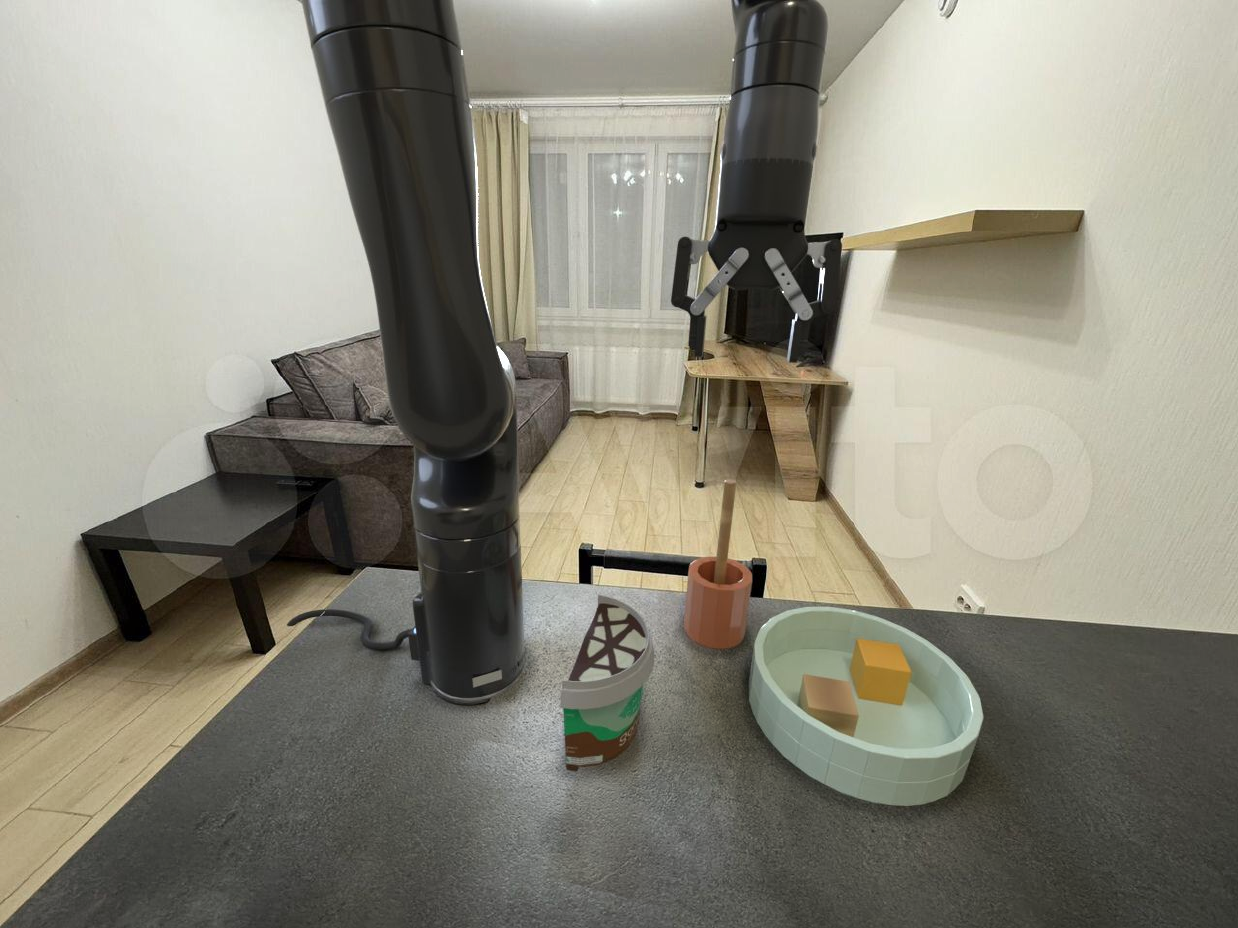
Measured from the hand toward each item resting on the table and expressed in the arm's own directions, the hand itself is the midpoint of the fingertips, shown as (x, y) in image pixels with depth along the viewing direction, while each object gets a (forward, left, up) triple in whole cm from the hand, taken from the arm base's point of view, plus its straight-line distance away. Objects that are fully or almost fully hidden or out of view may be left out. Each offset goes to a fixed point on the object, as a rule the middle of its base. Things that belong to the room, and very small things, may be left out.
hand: (744, 359), depth 49 cm
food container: (-8, -16, -31) cm, 36 cm away
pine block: (+10, -12, -30) cm, 34 cm away
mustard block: (+16, -5, -30) cm, 35 cm away
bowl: (+13, -9, -31) cm, 35 cm away
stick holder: (0, 0, -31) cm, 31 cm away
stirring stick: (0, 0, -30) cm, 31 cm away
